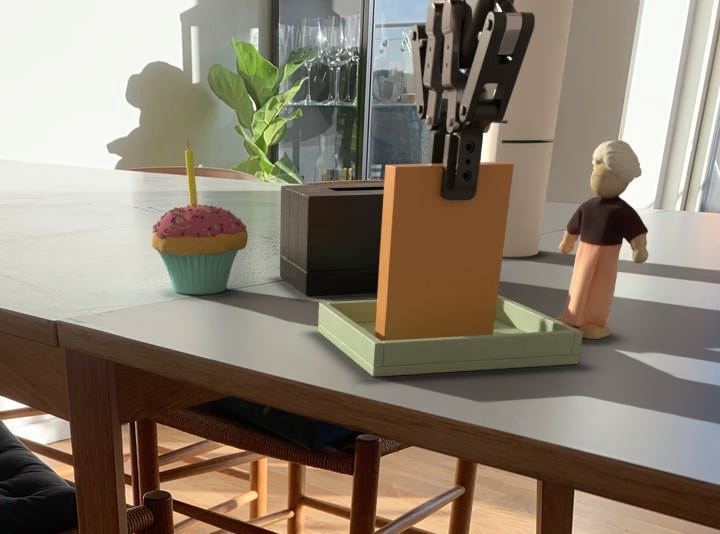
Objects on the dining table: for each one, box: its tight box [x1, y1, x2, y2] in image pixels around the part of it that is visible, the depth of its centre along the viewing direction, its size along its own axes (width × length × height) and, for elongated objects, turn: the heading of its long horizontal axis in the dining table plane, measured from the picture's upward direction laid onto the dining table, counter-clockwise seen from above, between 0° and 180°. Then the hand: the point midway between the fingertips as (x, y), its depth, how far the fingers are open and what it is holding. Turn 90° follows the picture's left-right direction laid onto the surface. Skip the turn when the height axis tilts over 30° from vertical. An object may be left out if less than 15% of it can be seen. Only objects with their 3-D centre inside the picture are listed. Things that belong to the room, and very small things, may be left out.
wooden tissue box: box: [279, 182, 384, 297], centre depth 87 cm, size 16×10×8 cm, turn 101°
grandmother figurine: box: [554, 139, 649, 340], centre depth 67 cm, size 8×4×13 cm, turn 40°
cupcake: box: [151, 139, 249, 296], centre depth 83 cm, size 9×8×12 cm
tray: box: [317, 294, 583, 378], centre depth 66 cm, size 14×13×2 cm
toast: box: [375, 161, 514, 341], centre depth 64 cm, size 8×2×11 cm, turn 101°
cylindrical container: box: [480, 0, 575, 258], centre depth 97 cm, size 7×7×25 cm
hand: (449, 196), depth 62 cm, fingers closed on toast, 2 cm apart
